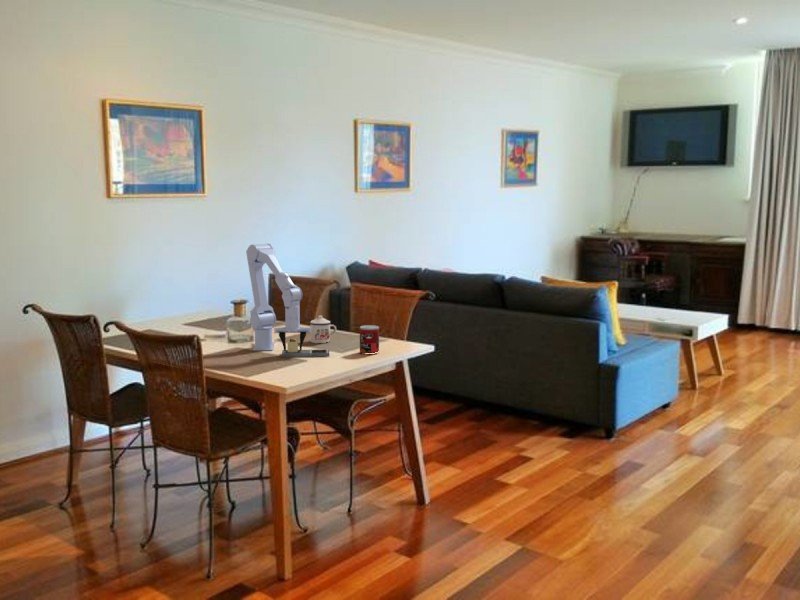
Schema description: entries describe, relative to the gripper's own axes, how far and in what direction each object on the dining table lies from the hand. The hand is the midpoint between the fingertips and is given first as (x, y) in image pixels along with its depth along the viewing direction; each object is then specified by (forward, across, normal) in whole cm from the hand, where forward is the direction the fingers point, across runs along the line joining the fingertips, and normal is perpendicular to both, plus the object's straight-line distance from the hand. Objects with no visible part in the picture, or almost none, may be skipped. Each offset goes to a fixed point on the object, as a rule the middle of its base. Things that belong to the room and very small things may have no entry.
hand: (292, 350), depth 319 cm
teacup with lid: (+2, +12, +28) cm, 31 cm away
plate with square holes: (+2, +5, 0) cm, 6 cm away
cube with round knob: (+2, 0, 0) cm, 2 cm away
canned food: (+2, +31, +3) cm, 31 cm away
